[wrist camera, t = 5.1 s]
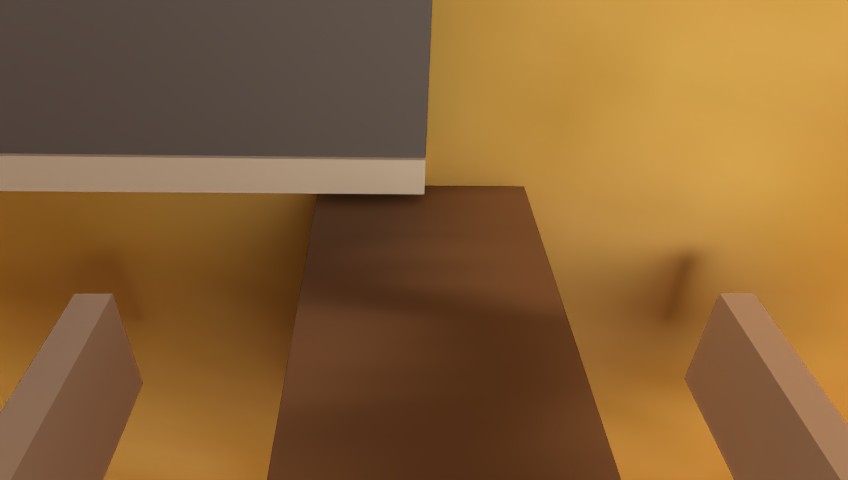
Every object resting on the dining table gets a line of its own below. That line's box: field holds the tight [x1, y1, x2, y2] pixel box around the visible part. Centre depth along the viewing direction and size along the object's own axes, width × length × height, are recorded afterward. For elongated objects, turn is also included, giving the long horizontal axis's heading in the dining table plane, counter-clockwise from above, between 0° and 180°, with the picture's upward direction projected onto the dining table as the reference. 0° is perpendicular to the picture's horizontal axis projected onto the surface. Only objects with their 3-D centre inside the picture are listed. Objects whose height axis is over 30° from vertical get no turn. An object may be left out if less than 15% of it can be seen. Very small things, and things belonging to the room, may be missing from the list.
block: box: [267, 186, 621, 480], centre depth 12 cm, size 5×7×9 cm
